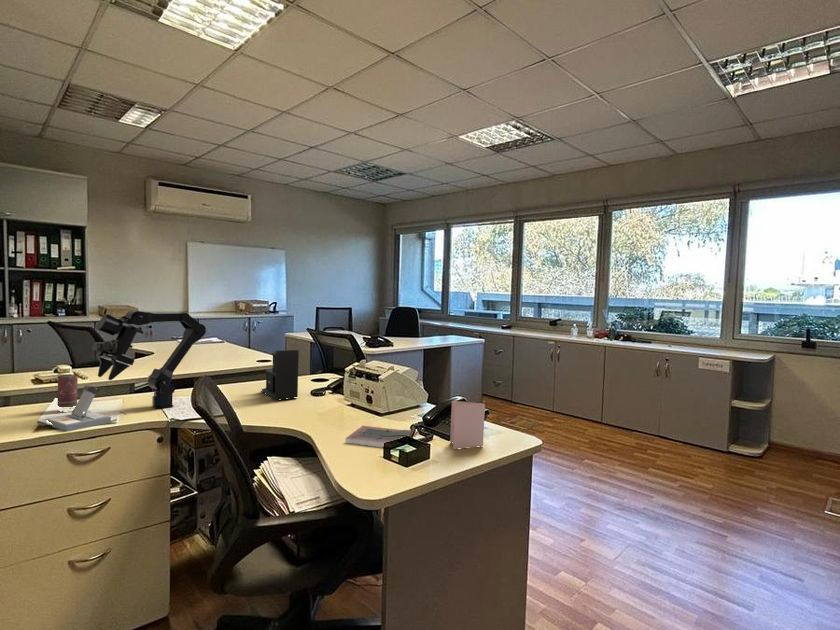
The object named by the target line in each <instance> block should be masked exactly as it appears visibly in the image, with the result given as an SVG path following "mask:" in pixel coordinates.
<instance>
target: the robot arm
mask: <svg viewBox="0 0 840 630" xmlns="http://www.w3.org/2000/svg"><path fill="white" fill-rule="evenodd" d="M159 322H161V323H162V322H163V323H165V322H179V323H180V324H181V326H182V327H183V328H184V330H183V335H182V339H181V341H180V342H179V343H178V345H177V346H176V348H175V349H174V350H173V352H172V353H171V355H170V356H169V357H168V359H167V360H166V361H165V363H164V364H163V365H162V367H160V368H159V369H158V368H153V370H152V372H151V374H150V375H148V379H147V384H148V386H149V387H150V388H151V391H152V392H153V395H152V397H151V399H152V404H151V406H152V407H153V408H154V409H156V410H158V409H167V408H166V407H168V408H172V407H171V406H174V405H173V396H174V395H173V394H174V393H175V390H176V387H175V386H174V385H173V384H171V382H172V380H173V376H174V372H175V370H176V369H177V367H178V366H179V365H180V363H181V362H182V361H183V359H184V358H185V356H186V355H187V354H188V352H189V351H190V350H191V348H192V347H193V345H194V344H196V343H197V342H198V341H200V340H201V339H202V338H204V336H205V335H206V333H207V327H206V326H205V325H204V324H202V323H200V322H199V321H198V320H197V319H195V318H194V317H192V316H191V314H189V313H188V312H186V311H179V312H176V311H174V312H150V311H143V310H137V309H136V310H134V309H133V310H128V311H127V312H126V313H125V315H123V316H120V317H119V318H117V317H115V316H113V315H111V314H108V313H105V314H104V315H103V317H101V318H100V320H98V321H97V323H96V326H95V330H97V331H99V332H101V333H103V334H107V335H109V336H112V337H113V336H115V335H116V337H115V339H112V340H111V341H109V340H108V341H107V340H103V341H102V342H99V341H98V342H97V341H95V342H93V348H92V351H94V352H96V354H95V355H96V358H97V359H98V362H99V366H98V367H99V368H98V374H97V377H99V378H102V377H103V376H104V375H105V374H106V373H107V372H108V371H109V370H110V369H111V370H110V373H109V375H108V377H107V378H108V380H109V381H112V380H114V379H115V378H116V377H117V376H118V375H120V374H121V373H122V372H124V371H125V370H127V369H128V368H130V366H133V364H134V363H135V357H132V356H129V355H127V353H128V352H129V350H130V349H132V348H133V347H134V346H133V342H134V340H135V338H136V336H137V334H139V335H143V334H144V331H143V328H142V326H143V325H148V324H151V323H159ZM126 325H127V326H126ZM133 325H134V326H133ZM136 326H138V327H136ZM174 407H175V406H174Z"/></svg>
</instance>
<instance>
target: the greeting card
mask: <svg viewBox="0 0 840 630" xmlns="http://www.w3.org/2000/svg"><path fill="white" fill-rule="evenodd" d="M485 410H486V403H480V402H472V401H471V402H469V401H462V400H461V401H459V400H451V414H450V415H451V416H450V417H451V418H450V432H449V433H450V434H449V435H450V437H449V438H450V439H449V443H450V442H453V444H452V450H453V449H458V448H466V447H477V446H483V447H484V436H485V435H484V433H485V431H484V430H485ZM458 450H459V449H458Z"/></svg>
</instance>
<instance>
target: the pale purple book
mask: <svg viewBox="0 0 840 630" xmlns="http://www.w3.org/2000/svg"><path fill="white" fill-rule="evenodd" d="M410 431H412V430H411V429H396V428H386V427H379V426H370V425H369V426H368V425H362V426H360V427H359V428H357V429H356V430H355V431H353V432H352V433H350V434H349V435H348V436H347V437H345V442H348V443H347V444H349V443H355V444H354V445H357V444H361V445H360V446H365V445H368V447H374V446H376V447H377V448H382V447H383V445H384V443H386V442H389V441H392V440H396V439H399V438H401V437H404V436H408V435H410ZM416 431H417V432H416V433H415V435H414V437H416V436H417V435H418V436H419V434H418V431H419V430H416ZM376 447H375V448H376Z"/></svg>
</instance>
